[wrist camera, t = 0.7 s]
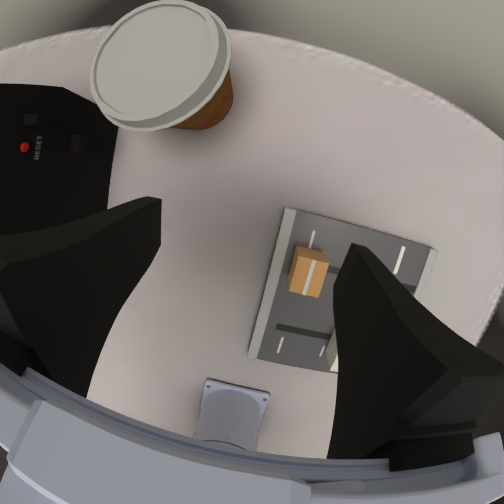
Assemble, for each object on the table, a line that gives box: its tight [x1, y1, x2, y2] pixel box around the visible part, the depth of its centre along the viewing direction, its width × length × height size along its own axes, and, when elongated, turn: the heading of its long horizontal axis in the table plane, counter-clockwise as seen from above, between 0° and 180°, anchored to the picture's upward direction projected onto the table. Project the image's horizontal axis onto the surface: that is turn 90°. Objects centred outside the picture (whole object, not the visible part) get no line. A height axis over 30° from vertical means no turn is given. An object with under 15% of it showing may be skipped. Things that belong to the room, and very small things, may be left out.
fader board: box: [247, 206, 438, 374], centre depth 28 cm, size 16×16×2 cm
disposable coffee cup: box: [89, 0, 233, 132], centre depth 19 cm, size 10×10×12 cm
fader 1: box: [288, 245, 329, 298], centre depth 24 cm, size 3×2×4 cm
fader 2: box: [326, 329, 338, 372], centre depth 26 cm, size 3×2×4 cm
